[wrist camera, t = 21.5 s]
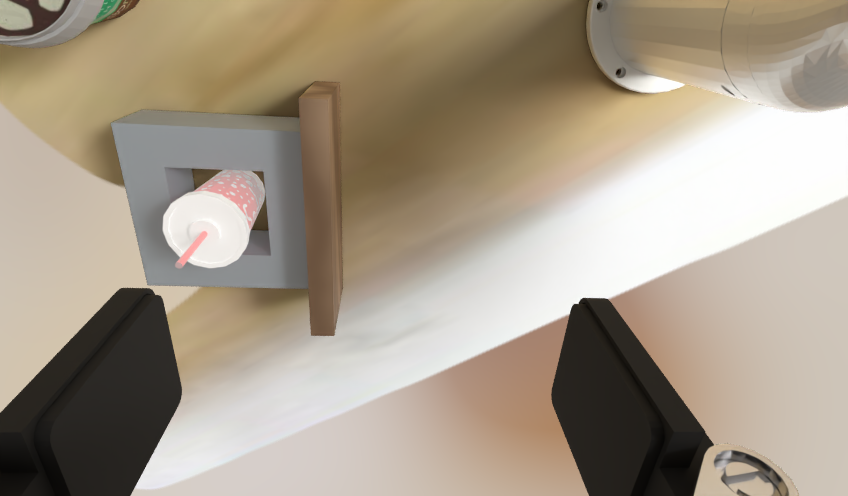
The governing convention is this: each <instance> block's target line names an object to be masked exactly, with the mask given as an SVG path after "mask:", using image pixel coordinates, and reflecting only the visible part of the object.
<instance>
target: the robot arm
mask: <svg viewBox="0 0 848 496" xmlns="http://www.w3.org/2000/svg"><path fill="white" fill-rule="evenodd" d="M597 3H600V5H601V6H600V8H599V9H598V10H597ZM586 30H587V39H588V44H589V47H590V50H591V54H592V56H593V58H594V60H595V62H596V64H597V65H598V67H599V68H600V70H601V71H602V72H603V73H604V74H605V75H606V76H607V78H609V79H610V80H612V81H613V82H615V83H616V84H617V85H619V86H622V87H624V88H626V89H629V90H632V91H636V92H640V93H653V94H654V93H661V92H668V91H671V90H674V89H677V88H680V87H683V86H685V85H690V86H693V87H697V88H701V89H704V90H708V91H712V92H715V93H719V94H723V95H726V96H730V97H734V98H737V99H741V100H745V101H748V102H752V103H756V104H759V105H764V106H768V107H772V108H775V109H779V110H785V111H791V112H822V111H828V110H833V109H839V108H842V107H846V106H848V0H589V4H588V9H587V21H586ZM617 69H619V73H618V74H616V71H617ZM181 395H182V387H181V382H180V377H179V373H178V368H177V363H176V359H175V354H174V349H173V345H172V340H171V335H170V331H169V326H168V321H167V317H166V312H165V307H164V303H163V299H162V298H161V296H159V295H155V294H154V292H153V290H151V289H149V288H121V289H119V290H118V291H117V292H116V293H115V294H114V295H113V296H112V297H111V298H110V300H108V301H107V302H106V303H105V304H104V305H103V307H102V308H101V309H100V310H99V311H98V312H97V313H96V314H95V315H94V316H93V317H92V318H91V319H90V320H89V321H88V322H87V323H86V324H85V325H84V326H83V327H82V328H81V329H80V330H79V332H78V333H77V334H76V335H75V336H74V337H73V338H72V339H71V340H70V341H69V342H68V343H67V344H66V345H65V346H64V347H63V348H62V349H61V350H60V352H59V353H57V354H56V355H55V357H54V358H53V359H52V360H51V361H50V362H49V363H48V364H47V365H46V366H45V367H44V368H43V369H42V370H41V371H40V372H39V373H38V374H37V375H36V376H35V377H34V379H33V380H32V381H31V382H30V383H29V384H28V385H27V386H26V387H25V388H24V389H23V390H22V391H21V392H20V393H19V394H18V395H17V396H16V397H15V398H14V399H13V400H12V401H11V402H10V403H9V404H8V406H7V407H6V408H5V409H4V410H3V411H2V412H1V413H0V496H130V495H131V493H132V491H133V490H134V488H135V486H136V484H137V482H138V480H139V478H140V477H141V475H142V473H143V471H144V469H145V467H146V465H147V463H148V462H149V460H150V458H151V456H152V454H153V452H154V450H155V448H156V447H157V445H158V443H159V441H160V439H161V437H162V435H163V433H164V432H165V430H166V428H167V426H168V424H169V422H170V420H171V418H172V417H173V415H174V413H175V411H176V409H177V407H178V405H179V403H180V400H181ZM551 395H552V404H553V407H554V409H555V412H556V414H557V417H558V419H559V422H560V424H561V427H562V429H563V432H564V434H565V437H566V439H567V442H568V444H569V447H570V449H571V452H572V454H573V457H574V459H575V462H576V464H577V467H578V469H579V471H580V474H581V477H582V479H583V482H584V484H585V487H586V489H587V492H588V494H589V496H799V493H798V490H797V488H796V486H795V485H794V483H793V481H792V480H791V478H790V477H789V476H788V475H787V474H786V473H785V472H784V471H783V470H782V469H781V468H780V467H779V466H777V465H776V464H775V463H773V462H772V461H771V460H769V459H768V458H767V457H765V456H763V455H761V454H759V453H757V452H756V451H754V450H751V449H748V448H746V447H743V446H740V445H734V444H728V443H727V444H726V443H725V444H716V445H714V444H713V443H712V441H711V440H710V439H709V437H708V436H707V435H706V433H705V431H704V429H703V428H702V426H701V425H700V424H699V422H698V421H697V419H696V418H695V417H694V416H693V414H692V413H691V411H690V410H689V409H688V407H687V406H686V405H685V403H684V402H683V400H682V399H681V398H680V396H679V395H678V394H677V392H676V391H675V389H674V388H673V387H672V385H671V384H670V383H669V381H668V380H667V379H666V377H665V376H664V374H663V373H662V372H661V370H660V369H659V368H658V366H657V365H656V364H655V362H654V361H653V359H652V358H651V357H650V355H649V354H648V353H647V351H646V350H645V349H644V347H643V346H642V344H641V343H640V342H639V340H638V339H637V338H636V336H635V335H634V333H633V332H632V331H631V329H630V328H629V327H628V325H627V324H626V322H625V321H624V320H623V319H622V317H621V316H620V314H619V313H618V312H617V310H616V309H615V308H614V306H613V305H612V303H611V302H610V301H609V300H608V299H605V298H582V299H581V300H580V302H579V304H574V305H573V306H572V308H571V312H570V316H569V320H568V324H567V329H566V333H565V337H564V341H563V345H562V349H561V353H560V358H559V362H558V366H557V370H556V375H555V379H554V383H553V387H552V394H551Z"/></svg>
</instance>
